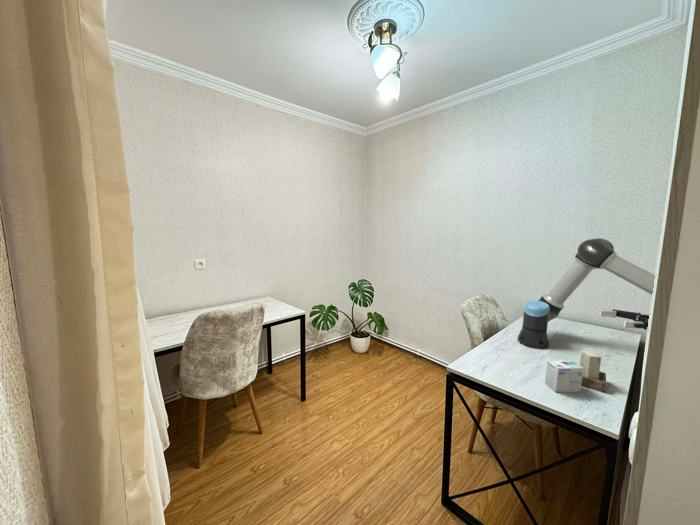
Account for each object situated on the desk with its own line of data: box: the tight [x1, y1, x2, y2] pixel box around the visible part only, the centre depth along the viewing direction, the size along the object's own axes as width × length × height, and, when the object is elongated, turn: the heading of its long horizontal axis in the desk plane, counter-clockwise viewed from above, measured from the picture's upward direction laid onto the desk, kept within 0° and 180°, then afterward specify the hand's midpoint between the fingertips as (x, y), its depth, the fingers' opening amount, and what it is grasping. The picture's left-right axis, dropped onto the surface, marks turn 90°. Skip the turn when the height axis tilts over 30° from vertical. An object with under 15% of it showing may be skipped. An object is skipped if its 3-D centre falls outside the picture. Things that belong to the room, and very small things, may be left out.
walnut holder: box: [581, 370, 607, 394], centre depth 122 cm, size 11×11×4 cm
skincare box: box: [579, 349, 602, 380], centre depth 122 cm, size 6×4×12 cm
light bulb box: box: [544, 359, 583, 393], centre depth 117 cm, size 11×7×11 cm, turn 92°
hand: (611, 318), depth 126 cm, fingers open, 13 cm apart
